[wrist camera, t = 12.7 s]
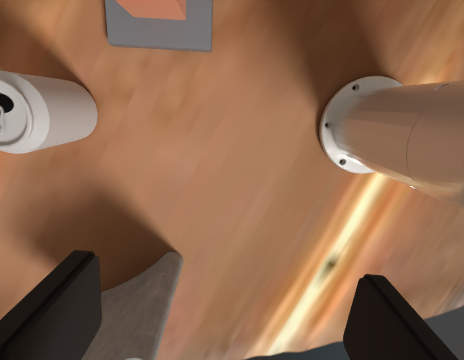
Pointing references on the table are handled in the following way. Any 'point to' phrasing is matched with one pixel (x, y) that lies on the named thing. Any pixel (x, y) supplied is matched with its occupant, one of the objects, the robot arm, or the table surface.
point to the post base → (161, 28)
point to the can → (42, 112)
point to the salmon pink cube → (156, 8)
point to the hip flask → (136, 313)
